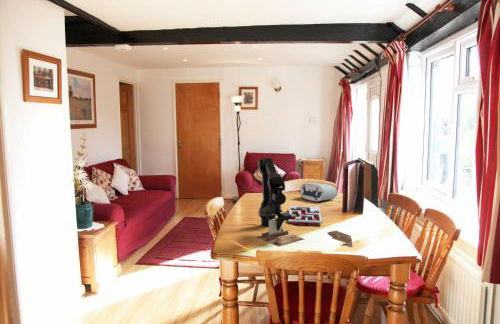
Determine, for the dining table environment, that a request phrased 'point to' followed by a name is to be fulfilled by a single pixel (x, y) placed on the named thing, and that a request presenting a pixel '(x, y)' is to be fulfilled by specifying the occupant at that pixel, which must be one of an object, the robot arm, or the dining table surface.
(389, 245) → the dining table surface
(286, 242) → the lower oak offcut
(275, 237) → the walnut rack
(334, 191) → the grey rounded oval block
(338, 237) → the wooden fragment
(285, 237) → the upper oak offcut
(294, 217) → the maze game
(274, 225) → the taupe rectangular block
